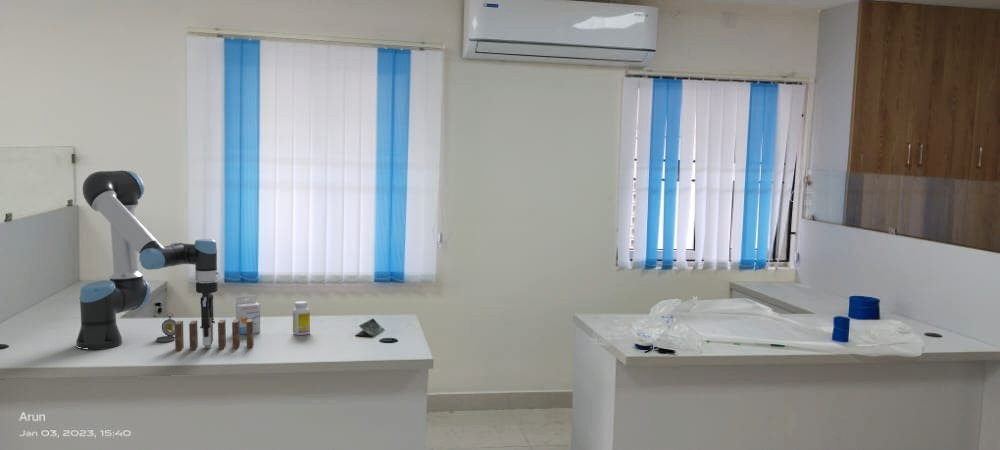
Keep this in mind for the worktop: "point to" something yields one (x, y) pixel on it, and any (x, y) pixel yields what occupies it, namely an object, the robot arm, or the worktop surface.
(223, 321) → the domino
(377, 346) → the worktop surface
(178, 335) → the domino
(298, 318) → the supplement bottle
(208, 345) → the tile
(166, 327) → the pocket watch
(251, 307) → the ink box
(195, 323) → the domino
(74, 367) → the worktop surface
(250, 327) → the domino
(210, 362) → the worktop surface
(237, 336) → the domino
